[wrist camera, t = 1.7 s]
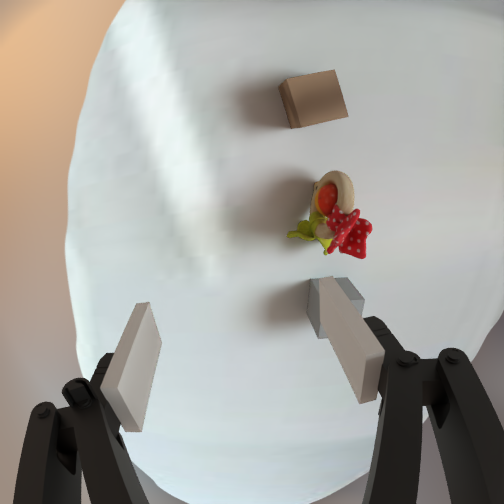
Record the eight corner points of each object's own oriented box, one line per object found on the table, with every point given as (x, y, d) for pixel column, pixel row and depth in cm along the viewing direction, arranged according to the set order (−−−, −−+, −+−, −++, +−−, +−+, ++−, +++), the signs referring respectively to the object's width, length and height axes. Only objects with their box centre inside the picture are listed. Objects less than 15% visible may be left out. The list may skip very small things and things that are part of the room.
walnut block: (277, 86, 31) (286, 78, 26) (320, 77, 31) (334, 69, 26) (290, 128, 33) (301, 127, 28) (332, 118, 33) (348, 116, 28)
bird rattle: (288, 179, 37) (281, 255, 36) (321, 145, 26) (314, 250, 25) (337, 188, 38) (332, 261, 37) (383, 161, 27) (380, 258, 26)
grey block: (310, 278, 39) (323, 301, 34) (347, 277, 40) (364, 299, 34) (306, 312, 41) (318, 338, 36) (341, 310, 42) (357, 335, 36)
